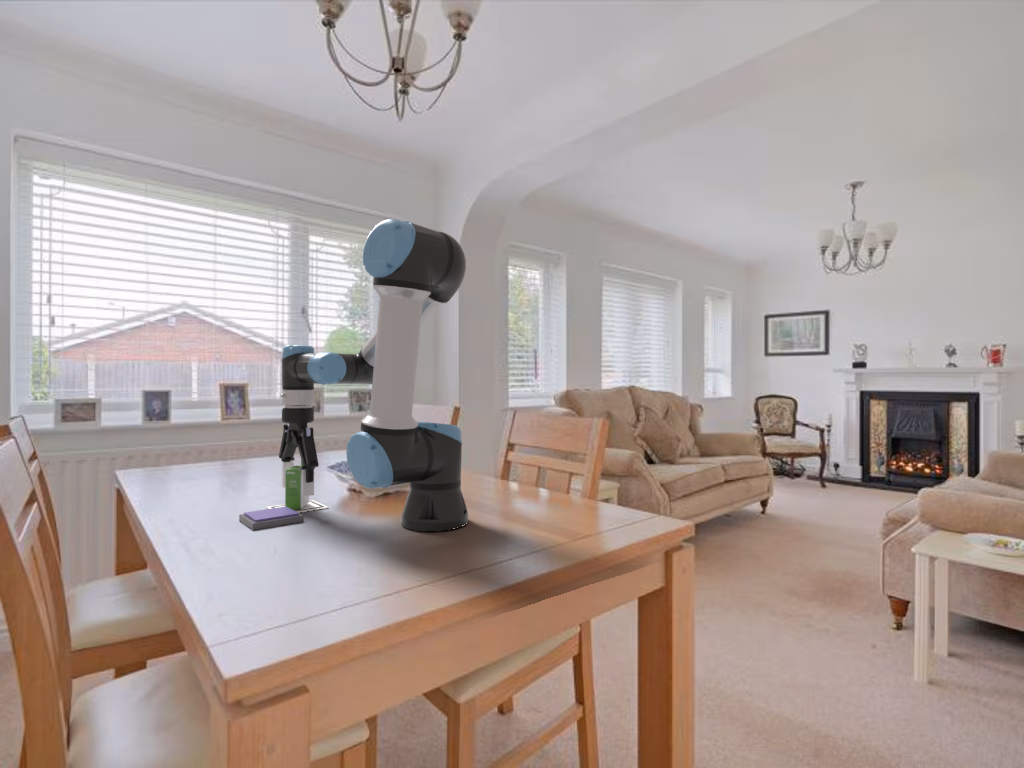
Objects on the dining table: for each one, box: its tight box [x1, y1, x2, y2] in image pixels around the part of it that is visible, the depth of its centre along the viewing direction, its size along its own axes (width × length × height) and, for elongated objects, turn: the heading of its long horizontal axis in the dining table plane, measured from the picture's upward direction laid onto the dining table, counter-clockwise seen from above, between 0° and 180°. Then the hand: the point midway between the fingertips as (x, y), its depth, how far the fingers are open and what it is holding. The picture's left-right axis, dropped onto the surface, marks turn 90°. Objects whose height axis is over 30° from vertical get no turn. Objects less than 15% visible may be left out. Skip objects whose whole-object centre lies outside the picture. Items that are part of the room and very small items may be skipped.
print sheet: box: [265, 499, 330, 514], centre depth 137 cm, size 10×12×1 cm
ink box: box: [284, 459, 310, 510], centre depth 137 cm, size 7×4×13 cm, turn 4°
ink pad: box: [238, 507, 305, 531], centre depth 125 cm, size 10×11×2 cm
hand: (297, 491), depth 137 cm, fingers open, 13 cm apart
